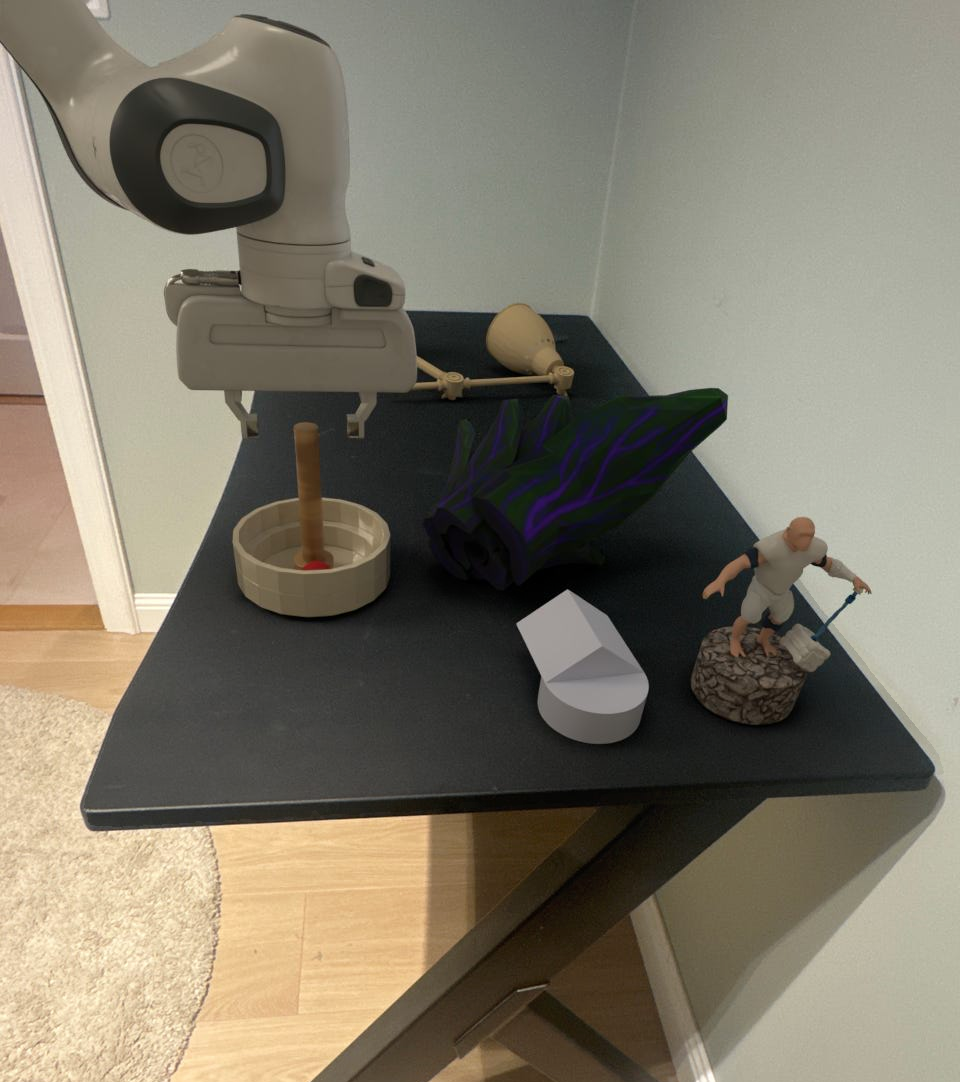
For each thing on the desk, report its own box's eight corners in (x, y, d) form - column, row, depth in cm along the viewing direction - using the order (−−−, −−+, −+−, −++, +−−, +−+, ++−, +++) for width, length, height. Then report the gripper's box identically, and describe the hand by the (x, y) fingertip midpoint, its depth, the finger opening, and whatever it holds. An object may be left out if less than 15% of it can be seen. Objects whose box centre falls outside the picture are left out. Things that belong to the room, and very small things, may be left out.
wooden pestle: (295, 582, 78) (284, 435, 69) (294, 562, 81) (282, 418, 72) (335, 580, 79) (329, 434, 70) (332, 560, 82) (326, 418, 73)
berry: (299, 581, 78) (301, 600, 76) (299, 554, 76) (300, 573, 74) (331, 580, 79) (334, 599, 77) (331, 554, 77) (334, 572, 75)
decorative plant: (433, 627, 91) (584, 492, 104) (604, 662, 71) (762, 490, 85) (348, 470, 81) (528, 344, 94) (520, 461, 61) (714, 303, 75)
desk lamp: (289, 280, 124) (471, 392, 109) (441, 233, 143) (614, 323, 127) (295, 365, 135) (460, 478, 120) (435, 311, 154) (593, 403, 139)
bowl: (237, 627, 73) (230, 577, 69) (240, 545, 84) (234, 499, 81) (398, 616, 76) (399, 568, 73) (379, 539, 88) (379, 495, 85)
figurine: (682, 731, 66) (741, 547, 55) (648, 667, 73) (695, 492, 62) (837, 722, 68) (923, 544, 58) (791, 661, 75) (859, 491, 64)
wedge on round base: (512, 652, 73) (556, 750, 63) (520, 592, 69) (568, 687, 59) (601, 643, 75) (657, 736, 65) (613, 585, 71) (676, 675, 61)
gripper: (156, 277, 58) (181, 450, 67) (424, 288, 63) (417, 449, 71) (163, 259, 63) (186, 423, 71) (412, 270, 68) (407, 423, 76)
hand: (303, 436), depth 71 cm, fingers open, 8 cm apart
